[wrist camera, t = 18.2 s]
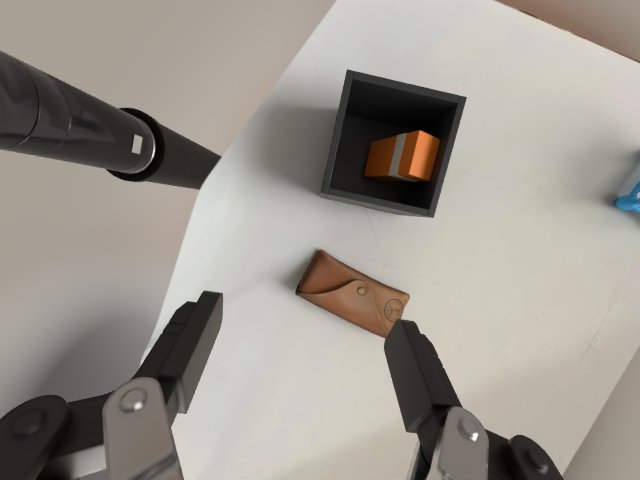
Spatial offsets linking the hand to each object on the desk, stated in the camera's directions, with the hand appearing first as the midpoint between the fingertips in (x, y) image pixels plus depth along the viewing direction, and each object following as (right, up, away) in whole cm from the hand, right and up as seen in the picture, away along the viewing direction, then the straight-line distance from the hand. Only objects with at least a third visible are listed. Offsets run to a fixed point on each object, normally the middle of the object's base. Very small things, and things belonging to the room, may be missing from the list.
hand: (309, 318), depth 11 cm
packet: (+9, +15, +25) cm, 31 cm away
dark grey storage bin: (+9, +16, +27) cm, 33 cm away
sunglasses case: (+6, -5, +30) cm, 31 cm away
